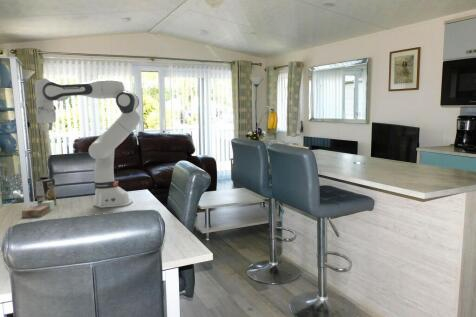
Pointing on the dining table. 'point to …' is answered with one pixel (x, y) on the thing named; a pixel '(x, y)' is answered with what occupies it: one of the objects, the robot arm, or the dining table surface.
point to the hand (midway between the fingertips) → (47, 130)
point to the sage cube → (48, 204)
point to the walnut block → (35, 211)
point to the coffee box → (45, 191)
